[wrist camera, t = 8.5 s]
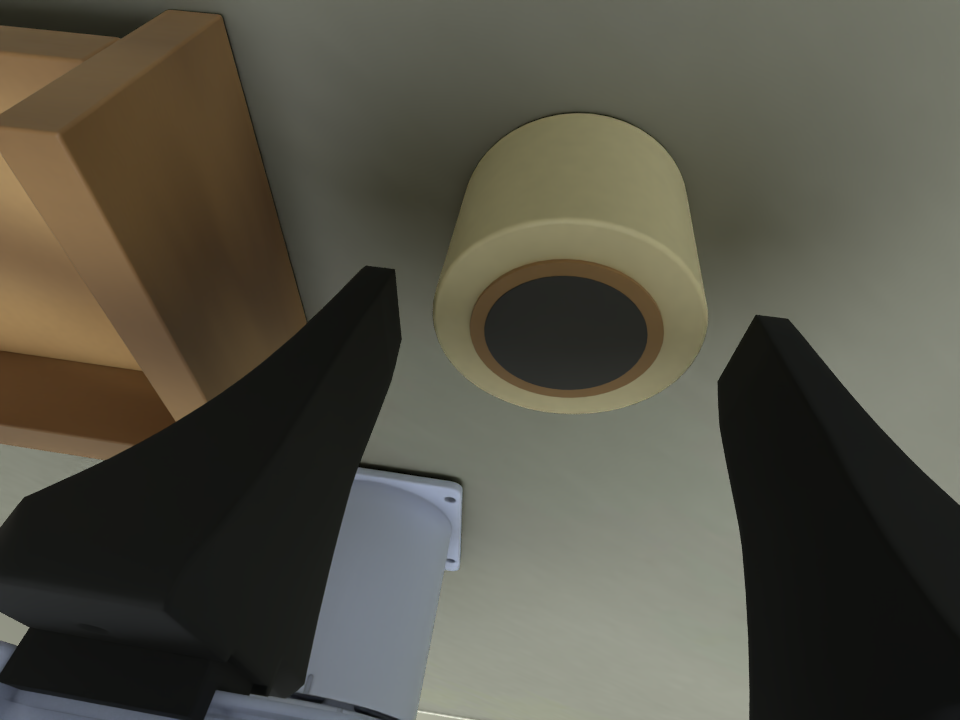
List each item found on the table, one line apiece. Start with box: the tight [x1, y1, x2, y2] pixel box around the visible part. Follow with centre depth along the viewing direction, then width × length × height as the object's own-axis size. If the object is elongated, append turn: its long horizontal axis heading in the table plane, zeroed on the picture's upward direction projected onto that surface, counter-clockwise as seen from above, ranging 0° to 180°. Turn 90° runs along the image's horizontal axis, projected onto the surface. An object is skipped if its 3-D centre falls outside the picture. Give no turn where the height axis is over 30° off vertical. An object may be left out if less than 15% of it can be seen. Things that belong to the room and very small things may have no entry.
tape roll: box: [433, 113, 708, 414], centre depth 12 cm, size 5×5×4 cm
